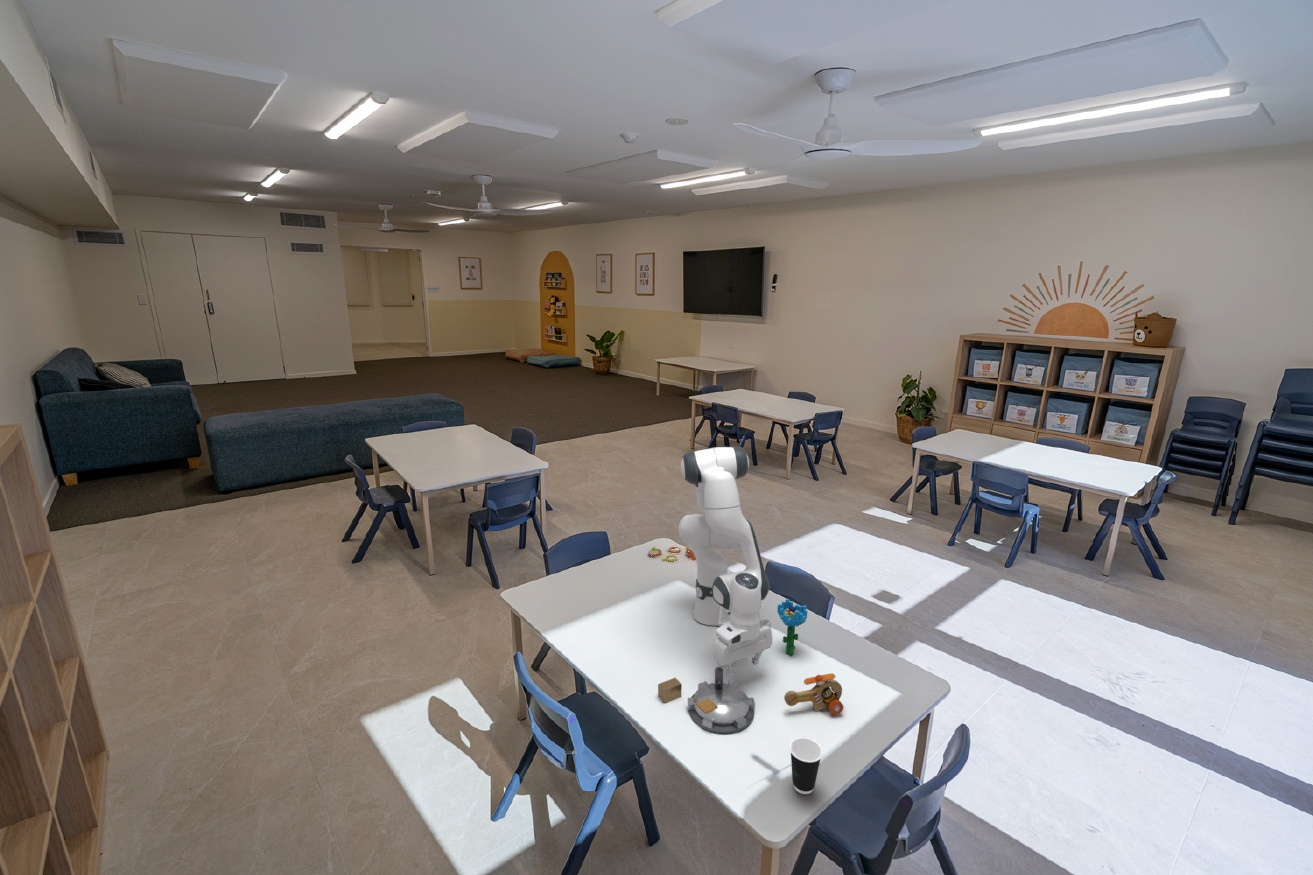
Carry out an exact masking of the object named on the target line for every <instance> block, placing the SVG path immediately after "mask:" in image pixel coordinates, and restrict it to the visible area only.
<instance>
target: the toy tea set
mask: <svg viewBox="0 0 1313 875" xmlns="http://www.w3.org/2000/svg"><path fill="white" fill-rule="evenodd" d="M675 548H679V550H678V551H677V550H671V549H675ZM668 550H669V551H668V553H669V552H671V553H679V552H682V551H681V548H680V547H678V546H670V547H669V548H668ZM686 550H687V551H686ZM688 551H689V552H688ZM647 553H648V554H650V555H652V556H659V555H661V556H662V553H663V552H662V549H660V548H656V547H655V546H652V547H651V549H649V550H648V552H647ZM671 553H670V554H671ZM684 553H685V554H686V553H687V554H686V555H687V558H688V557H689V558H691V559H693V560H692V561H695V560H696V557H695V555H694V553H693V551H692V549H691V548H690V546H689V545H688V544H687V545H686V547H685V552H684ZM670 554H669V555H666V556H665V557H663V558H661V561H662V562H667V561H668V562H667V563H669V562H673V563H674V561H676V560H678V557H677V556H676V555H674V554H671V555H670ZM679 554H680V553H679ZM650 555H649V556H650ZM652 556H651V557H652ZM659 557H660V556H659ZM669 557H674V558H675V559H668V558H669ZM689 558H688V559H689ZM691 559H690V560H691ZM665 560H666V561H665ZM676 562H677V561H676Z"/></svg>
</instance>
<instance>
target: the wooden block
mask: <svg viewBox="0 0 1313 875" xmlns="http://www.w3.org/2000/svg"><path fill="white" fill-rule="evenodd" d="M682 685H683V684H682V682H680V680H678V679H677V678H676V677H673V678H671V679H667V680H665V681H662V682H660V683H658V684H657V694H658V695H657V697H658V698H659V699H660V701H661V702H662V703H663V704H664V705H665V704H667V703H669V702H670V703H671V702H672V701H675V700H677V699H679V698H682V689H683V688H682Z"/></svg>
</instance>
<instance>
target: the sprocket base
mask: <svg viewBox="0 0 1313 875" xmlns="http://www.w3.org/2000/svg"><path fill="white" fill-rule="evenodd" d="M694 695H695V693H693V694H692V695H691V697H690V698H694ZM687 710H688V709H687ZM688 714H689V717H690V719H691V721H692V722H693V723H694V724H696V725H697V727H699V728H701V729H702V730H703V731H706V732H709V733H712V734H716V735H734V734H737V733H741V732H743V731H744V730H746V729H747V728H748V727H749V726H750V725H751V724H752V723H753V720H754V716H755V709H753V710H749V713H748V715H747V717H746V718H745V719H746V725H745V726H743V727H741V728H739V729H738V728H737V727H736V726H735V725H733V726H715V725H714V726H713V728H712V729H711V728H708V727H706V726H703V720H702V719H700V718H699V717H698V716H697V714H696V713H695V711H694V710H688Z"/></svg>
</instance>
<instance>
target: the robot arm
mask: <svg viewBox="0 0 1313 875" xmlns="http://www.w3.org/2000/svg"><path fill="white" fill-rule="evenodd" d="M681 457H682V459H681V462H680V472H681V474H682V476H683V478H684V480H685V481H686V482H687V483H688V484H691V485H694V486H695V494H696V504H697V507H698V509H699V510H700V511H701V512H702V513H703V514H700V513H695V514H694V513H693V514H686V515H684V516H682V519H680V521H679V524H678V534H679V536H680V538H681V540H682V541H684V543H685V544H687V546H688V545H689V546H690V548H691V549H692V551H693V553H694V555H695V557H696V569H697V570H696V571H697V572H696V573H697V574H696V577H697V578H696V580H695V594H696V596H695V600H694V601H695V602H694V606H693V609H692V613H691V616H692V618H693V620H695V621H696V622H698V623H700V624H702V625H707V626H718V628H717V629H716V630H715V635H716V636H717V637H716V639H715V641H714V648H713V659H714V661H715V662H716V663H717V664H718V665H720V667H725V666H726V669H727V670H726V671H727V674H729V675H733V674H735V671H736V670H735V669H736V668H735V667H734V666H733V663H735V662H738V661H739V660H743V659H745V658H747V657H750V656H752V657H751V663H752V664H753V666H754V665H757V664H759V663H760V662H759V661H760V658H761V656H762V654H763V652H764V651H765V650H768V649H770V648H771V647H772V645H773V633H772V622H771V621H770V620H769V619H763V620H762V621H761V616H760V615H761V614H760V611H761V608H762V601H764V600H765V599H766V598H767V596H768V594H769V591H770V586H771V585H770V580H769V578H768V575H767V573H766V570H765V567H764V564H763V559H762V557H761V552H760V548H759V545H758V540H757V537H756V533H755V530H754V528H753V525H752V523H751V521H749V519H746V518H745V516H744V514H743V511H742V509H741V503H740V502H741V501H740V495H739V489H738V485H737V482H736V480H737V479H741V478H743V477H746V475H747V474H748V471H749V467H750V459H749V456H748V453H747V452H746V450H745V449H744V448H743V447H741V446H735V445H734V446H731V447H730V446H720V447H719V446H716V447H712V448H706V449H700V450H695V451H694V450H691V451H688V452H686V453H684V454H683V455H682V456H681ZM715 548H719V549H724V550H739V549H740V550H742V553H743V554H742V555H743V558H744V559H743V560H744V563H745V569H744V570H740V571H736V572H730V573H728V572H729V571H728V570H729V569H728V568H729V564H728V560H727V558H725V556H724V555H723V554H721V553H720V552H718V551H717V550H716V549H715Z"/></svg>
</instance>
